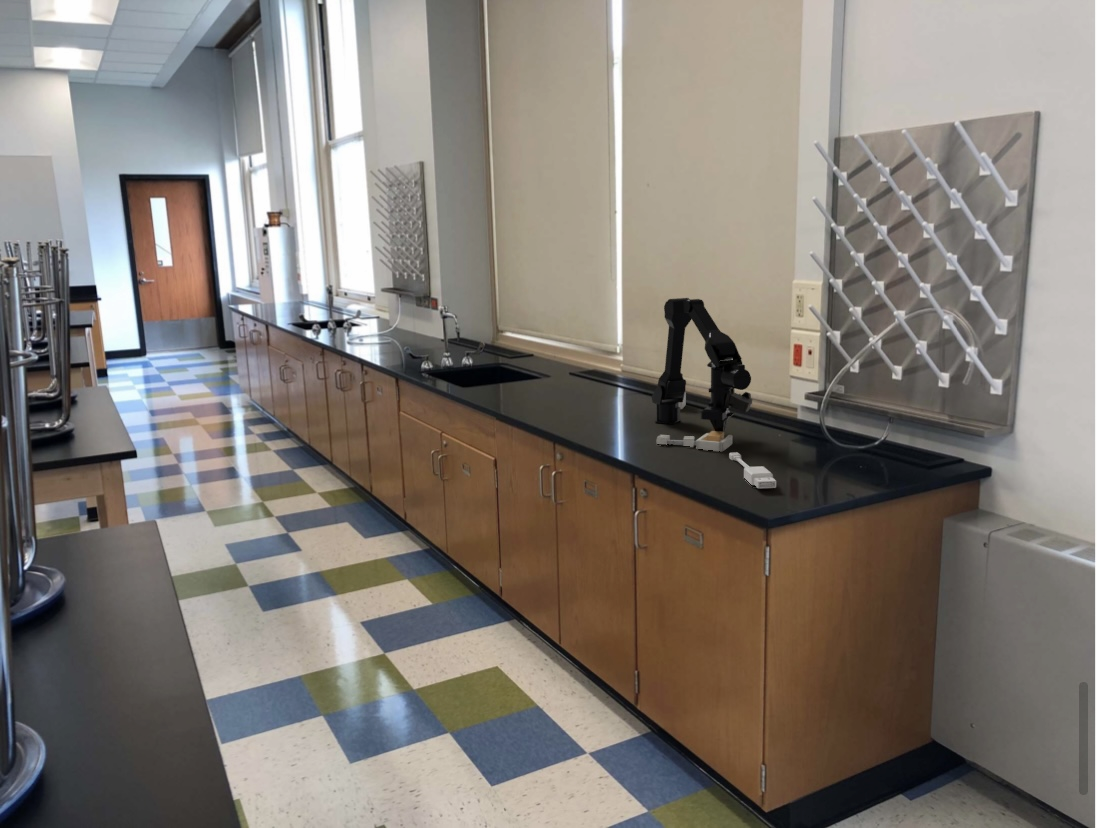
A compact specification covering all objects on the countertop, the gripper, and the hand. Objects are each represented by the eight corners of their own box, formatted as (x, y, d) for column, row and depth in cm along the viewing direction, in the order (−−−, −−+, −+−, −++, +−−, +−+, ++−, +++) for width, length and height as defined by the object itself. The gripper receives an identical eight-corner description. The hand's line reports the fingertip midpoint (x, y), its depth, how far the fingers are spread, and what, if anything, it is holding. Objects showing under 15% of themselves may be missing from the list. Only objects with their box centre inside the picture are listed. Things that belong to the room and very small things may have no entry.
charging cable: (741, 459, 230) (741, 447, 229) (777, 491, 198) (778, 477, 197) (723, 460, 230) (723, 448, 229) (756, 492, 198) (756, 478, 197)
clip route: (654, 444, 243) (654, 436, 243) (660, 441, 247) (660, 433, 247) (695, 448, 238) (695, 440, 237) (701, 445, 242) (701, 436, 241)
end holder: (695, 449, 237) (695, 440, 237) (706, 441, 246) (706, 433, 245) (722, 451, 234) (722, 442, 233) (732, 443, 242) (732, 435, 242)
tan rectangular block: (706, 447, 239) (706, 435, 238) (711, 442, 244) (711, 430, 243) (718, 448, 237) (719, 436, 236) (724, 443, 242) (724, 431, 242)
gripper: (740, 392, 229) (739, 448, 232) (758, 380, 245) (757, 433, 249) (700, 389, 234) (699, 444, 238) (720, 378, 250) (719, 430, 254)
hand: (720, 438), depth 244 cm, fingers closed
